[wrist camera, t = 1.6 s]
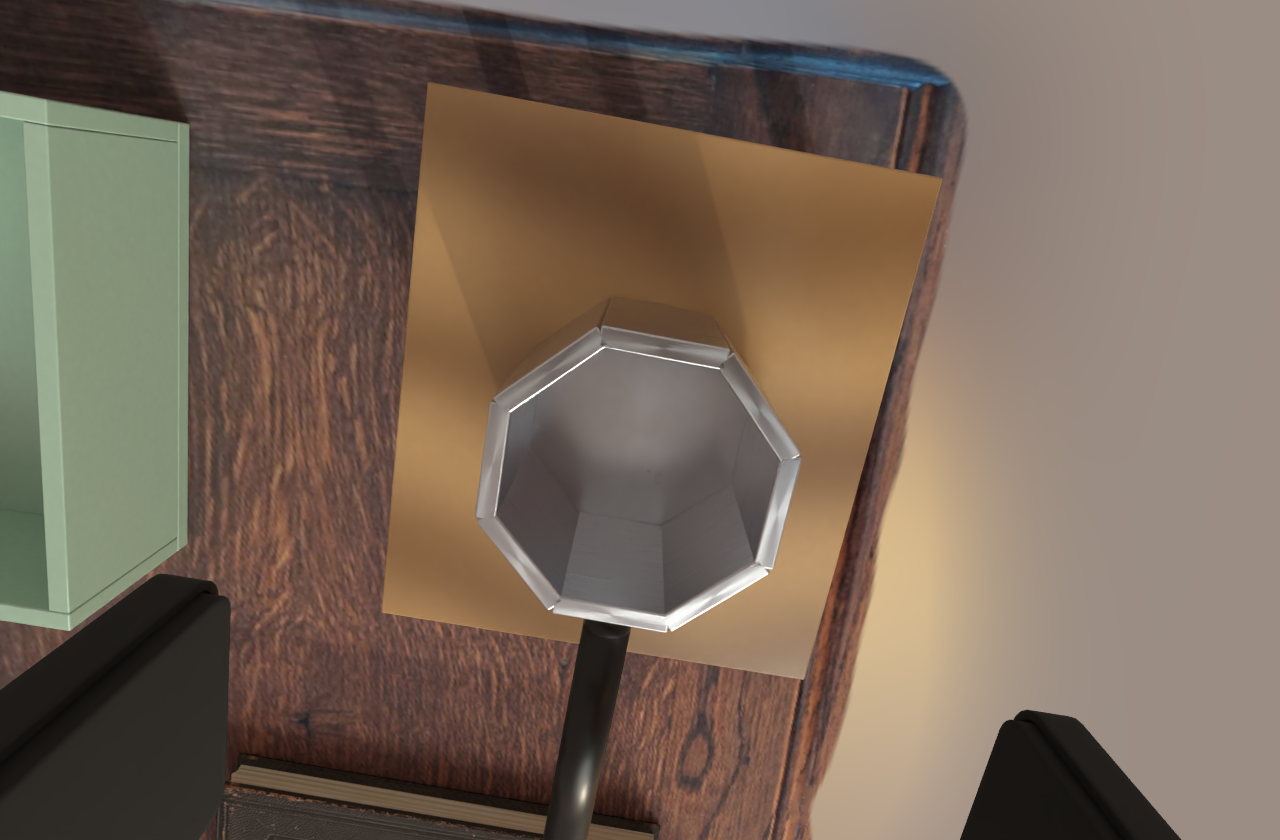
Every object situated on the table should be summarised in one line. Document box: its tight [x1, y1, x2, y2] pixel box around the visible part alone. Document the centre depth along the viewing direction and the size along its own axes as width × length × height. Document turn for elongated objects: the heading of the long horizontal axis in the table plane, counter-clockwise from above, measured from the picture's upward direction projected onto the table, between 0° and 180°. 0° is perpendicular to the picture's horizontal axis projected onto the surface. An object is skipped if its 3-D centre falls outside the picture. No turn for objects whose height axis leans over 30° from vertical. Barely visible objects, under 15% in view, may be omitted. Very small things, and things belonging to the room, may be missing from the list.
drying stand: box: [381, 82, 942, 680], centre depth 28 cm, size 16×14×12 cm
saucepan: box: [475, 296, 802, 840], centre depth 21 cm, size 16×7×6 cm, turn 169°
